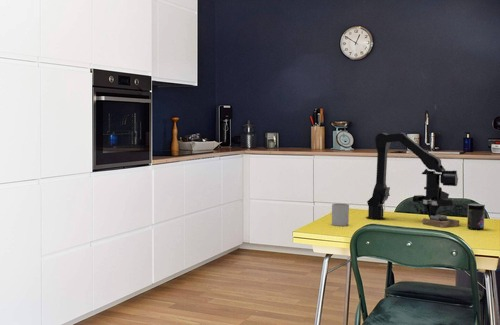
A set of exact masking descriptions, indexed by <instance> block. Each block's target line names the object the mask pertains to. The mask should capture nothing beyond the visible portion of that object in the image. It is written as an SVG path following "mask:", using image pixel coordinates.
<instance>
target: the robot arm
mask: <svg viewBox="0 0 500 325" xmlns="http://www.w3.org/2000/svg"><path fill="white" fill-rule="evenodd" d="M397 142H398V143H400V144H402V145H403V146H405V147H406V148H407V149H408V150H409V151H410V152H412V153H413V154H414V155H415V156H417V157H418V158H419V159H420V161H421V163H422V164H423V165H424V166H425V167H426V169H424V171H422V172H421V175H425V176H426V177H425V178H426V179H425V186H423V189H424V190H425V195H424V194H417V195H414V196H412V202H414V203H419V202H422V203H421V205H422V207H424V209H425V211H426V213H427V215H428V217H429V218H428V219H430V215H437V214H436V213H437V211H438V210H439V208H440V207H449V206H450V207H451V206H452V207H453V206H454V203H453V202H454V201H453V199H452V198H449V196H450V193H447V192H445V191H443V189H442V187H440V184H442V186H448V187H449V186H450V187H457V186H458V183H459V182H458V181H459V177H458V170H447V169H446V168H444V165H442V159H441V158H440V157H439V156H436V155H434V154H433V153H430V151H427V150H425V149H424V148H422V147H421V146H420V145H419V144H417V143H416V141H414V140H412V138H410V137H409V136H408V135H407V133H404V132H399V133H393V134H388V133H387V132H381V133H378V134H377V135H375V137H374V143H375V149H376V152H377V157H376V159H377V160H376V174H375V175H376V180H375V185H374V187H373V190H372V194H371V195H372V196H371V197H369V199H368V200H367V201H366V203H367V205H368V208H367V209H368V212H367V216H365V218H366V219H370V220H385V219H386V217H384V210H385V209H384V205H385V202H386V201H387V200H388V199H389V197H390V196H391V195H390V190H391V188H390V187H388V186H387V165H388V164H387V163H388V153H389V152H388V151H389V149H390V147H391V143H397Z"/></svg>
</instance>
